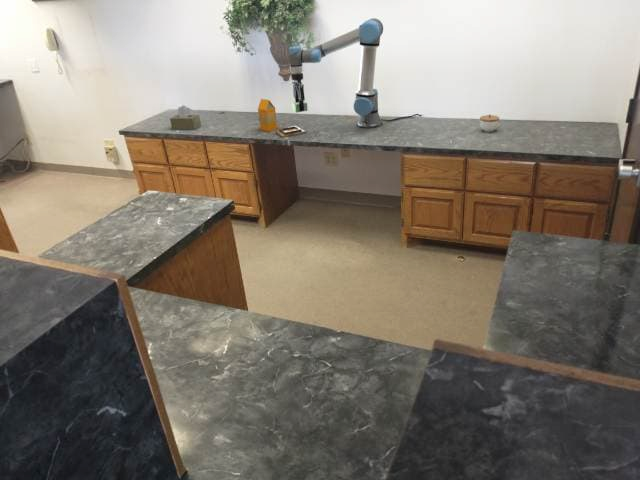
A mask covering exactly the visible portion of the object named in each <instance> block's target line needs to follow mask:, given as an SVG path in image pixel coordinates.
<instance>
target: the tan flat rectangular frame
mask: <svg viewBox="0 0 640 480" xmlns="http://www.w3.org/2000/svg"><path fill="white" fill-rule="evenodd" d="M305 133H306V130H304V129H302V128H300V127H299V126H297V125H291V126H286V127H282V128H281V127H280V128H278V130H275V134H277V135H278V136H280V137H281V138H286V137H291V136H295V135H300V134H305Z"/></svg>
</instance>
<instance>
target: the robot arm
mask: <svg viewBox="0 0 640 480" xmlns="http://www.w3.org/2000/svg"><path fill="white" fill-rule="evenodd" d="M383 33H384V25H383V22H382V21H381V20H380V19H378V18H376V17H375V18H374V17H373V18H370V19H367V20H365V21H364V22H363V23H361V24H360V25H359V26H358V27H357V28H355V29H353V30H351V31H349V32H346V33H344V34H341V35H338V36H337V37H335V38H332V39H330V40H327V41H325V42H323V43H321V44H318V45H315V46H314V47H312V48H309V49H302V47H301V46H299V45H297V46H296V45H294V46H290V47H289V48H288V57H289V67H290V68H289V70H290V79H291V81H292V82H291V83H292V84H291V85H292V94H293V95H292V96H293V98H294V103H295V102H299V107H300V112H299V113H302V111H303V112H305V111H304V103H303V101H304V102H305V99H306V98H305V90H304V84H303V83H302V80H304V68H303V67H304V66H303V64H316V63H317V64H318V63H319V64H320V63H321V61H322V59H323V58H325V57H327V56H329V55H332V54H334V53H336V52H339V51H341V50H344V49H346V48H348V47H351V46H353V45H356V44H358V43H359V46H360V48H361V51H360V52H361V55H360V67H359V80H358V89H357V90H355V98H354V99H355V100H354V102H353V106H352V107H353V110H354V112H355V113H356V114H357V116H358V120H357V126H358V127H359V128H363V129H372V128H377V127H380V126H381V125H382V122H393V121H396V120H401V119H406V118H407V119H408V118H413V117H416V116H419V117H422V114H420V113H415V114H412V115H407V116H400V117H396V118H393V119H381V116H380V114H379V92H378V89H377V88H374V81H375V80H374V79H375V69H376V60H377V59H376V58H377V49H378V48H379V47H380V44H381V43H380V42H381V36H382V35H383ZM419 114H420V115H419Z"/></svg>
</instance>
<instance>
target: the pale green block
mask: <svg viewBox="0 0 640 480" xmlns="http://www.w3.org/2000/svg"><path fill="white" fill-rule="evenodd" d="M303 103H304V111H302V112H307V111H308V102H306V101H305V100H304V101H303ZM291 106H292V107H291V108H292V112H294V113H302V112H300V107H299V102H295V101H294V102H292V103H291ZM308 112H309V111H308Z"/></svg>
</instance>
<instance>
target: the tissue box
mask: <svg viewBox="0 0 640 480" xmlns="http://www.w3.org/2000/svg"><path fill="white" fill-rule="evenodd" d="M192 111H193V110H192V108H190V107H187V106H186V105H184V104H182V105H181V106H179V107H178V108H177V114H176V115H174V116H171V117H170V118H169V121H170V127H171V130H181V131H182V130H183V131H184V130H186V131H188V130H189V131H190V130H191V131H192V130H193V131H194V130H197V129H198V128H200V127H202V124H201V118H200V114H191V113H192Z"/></svg>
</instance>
